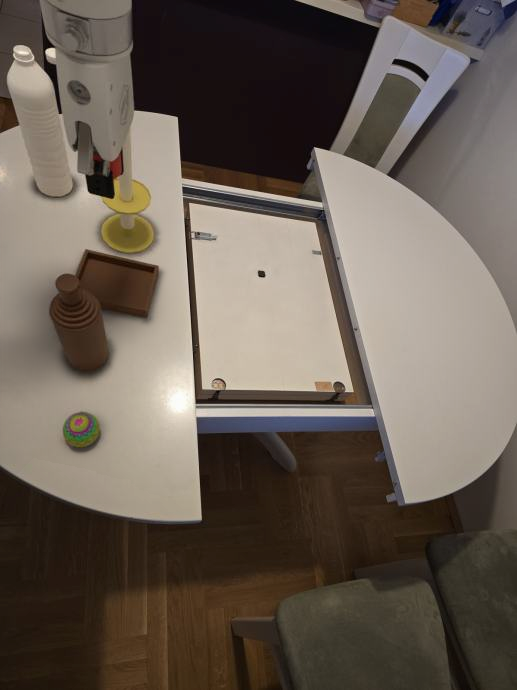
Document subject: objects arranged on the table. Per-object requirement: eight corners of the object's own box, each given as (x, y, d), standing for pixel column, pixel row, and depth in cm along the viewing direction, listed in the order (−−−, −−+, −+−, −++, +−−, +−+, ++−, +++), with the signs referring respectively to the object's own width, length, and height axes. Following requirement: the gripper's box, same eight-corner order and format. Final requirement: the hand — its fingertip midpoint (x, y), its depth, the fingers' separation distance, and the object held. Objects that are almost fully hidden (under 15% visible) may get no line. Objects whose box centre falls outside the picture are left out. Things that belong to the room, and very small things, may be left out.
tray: (69, 302, 68) (67, 294, 66) (87, 257, 72) (85, 248, 70) (146, 317, 70) (146, 311, 68) (158, 273, 75) (158, 265, 73)
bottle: (61, 367, 62) (29, 297, 45) (73, 333, 65) (48, 255, 48) (102, 374, 63) (87, 309, 46) (113, 340, 67) (102, 267, 49)
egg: (68, 417, 59) (61, 405, 54) (102, 417, 60) (98, 405, 55) (63, 450, 57) (55, 440, 52) (99, 449, 58) (95, 440, 53)
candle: (112, 208, 79) (99, 68, 56) (160, 224, 80) (167, 94, 57) (92, 243, 74) (69, 105, 51) (144, 260, 75) (144, 133, 52)
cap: (116, 184, 48) (115, 166, 46) (84, 175, 48) (81, 156, 45) (125, 163, 50) (124, 145, 48) (94, 154, 50) (91, 135, 47)
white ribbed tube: (37, 197, 76) (-5, 59, 54) (36, 173, 78) (-4, 32, 57) (86, 197, 78) (64, 67, 57) (83, 174, 81) (62, 41, 60)
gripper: (106, 84, 32) (119, 237, 48) (151, -7, 40) (149, 150, 55) (7, 54, 30) (54, 221, 46) (73, -34, 38) (94, 135, 54)
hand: (106, 181), depth 51 cm, fingers closed on cap, 3 cm apart
